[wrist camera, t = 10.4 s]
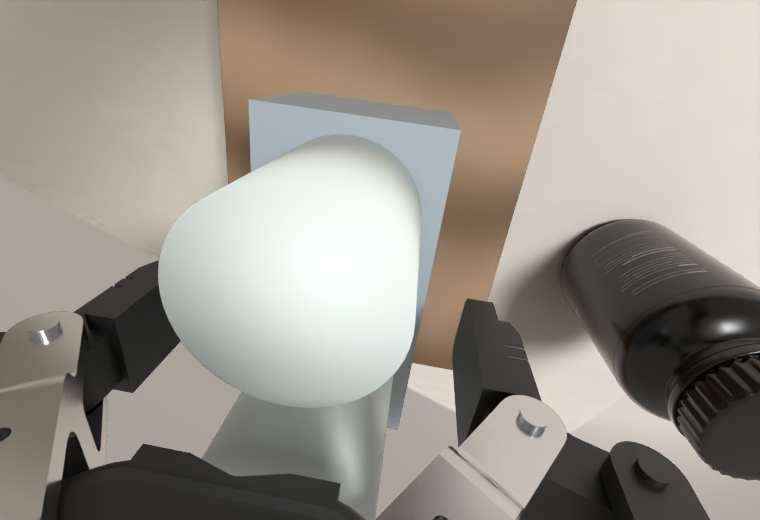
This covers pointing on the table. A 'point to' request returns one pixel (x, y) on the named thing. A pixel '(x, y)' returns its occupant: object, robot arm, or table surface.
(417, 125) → the salt and pepper set
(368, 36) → the walnut shelf
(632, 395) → the supplement bottle
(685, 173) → the table surface
